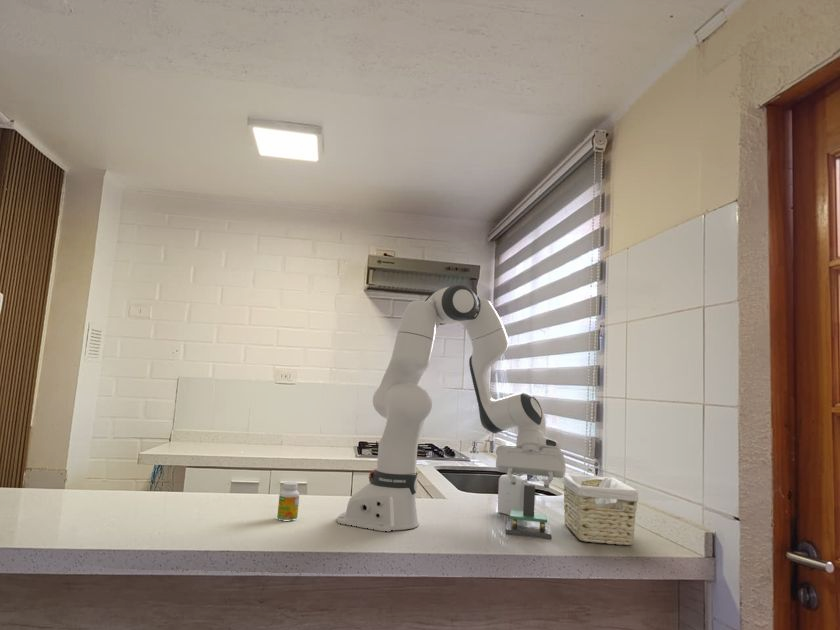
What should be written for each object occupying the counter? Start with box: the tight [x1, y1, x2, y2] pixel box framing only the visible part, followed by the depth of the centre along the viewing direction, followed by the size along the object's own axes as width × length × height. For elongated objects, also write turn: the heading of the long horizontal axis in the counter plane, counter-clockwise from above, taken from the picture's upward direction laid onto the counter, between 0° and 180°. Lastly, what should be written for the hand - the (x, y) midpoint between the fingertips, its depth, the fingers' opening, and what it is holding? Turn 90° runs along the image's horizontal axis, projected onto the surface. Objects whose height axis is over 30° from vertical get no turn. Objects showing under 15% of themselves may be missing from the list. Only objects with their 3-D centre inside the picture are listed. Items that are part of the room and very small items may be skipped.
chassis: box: [505, 518, 552, 540], centre depth 151 cm, size 12×12×4 cm
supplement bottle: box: [276, 481, 300, 521], centre depth 148 cm, size 5×5×10 cm
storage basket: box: [562, 473, 639, 546], centre depth 153 cm, size 24×16×15 cm
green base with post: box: [509, 483, 548, 524], centre depth 152 cm, size 10×8×9 cm
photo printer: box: [497, 473, 528, 516], centre depth 170 cm, size 10×4×12 cm, turn 39°
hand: (529, 485), depth 154 cm, fingers open, 8 cm apart
